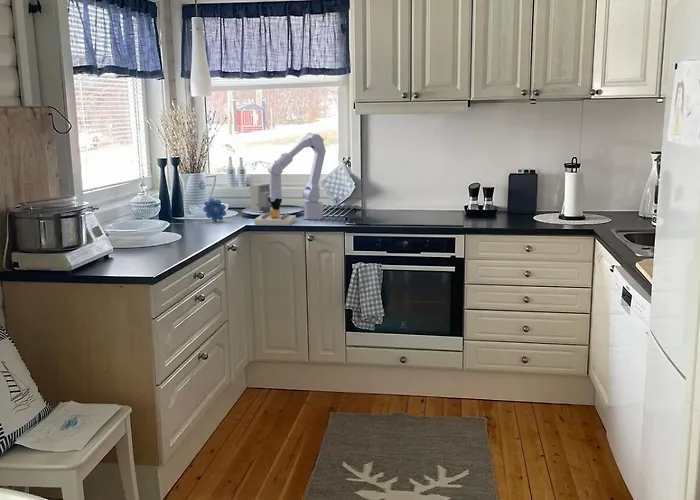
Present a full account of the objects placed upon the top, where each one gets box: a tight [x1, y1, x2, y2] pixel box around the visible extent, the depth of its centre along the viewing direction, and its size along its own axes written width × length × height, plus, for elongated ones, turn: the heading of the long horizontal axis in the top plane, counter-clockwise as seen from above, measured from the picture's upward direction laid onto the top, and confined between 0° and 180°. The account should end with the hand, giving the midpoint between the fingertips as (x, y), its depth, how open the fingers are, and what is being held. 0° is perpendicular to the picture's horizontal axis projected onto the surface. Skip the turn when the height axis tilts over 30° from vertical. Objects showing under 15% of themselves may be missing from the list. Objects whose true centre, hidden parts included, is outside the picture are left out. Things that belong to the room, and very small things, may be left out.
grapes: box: [202, 197, 227, 222], centre depth 367 cm, size 12×7×12 cm, turn 109°
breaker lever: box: [269, 208, 281, 217], centre depth 365 cm, size 4×3×4 cm
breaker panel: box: [254, 211, 297, 226], centre depth 366 cm, size 18×14×4 cm
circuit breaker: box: [248, 182, 272, 212], centre depth 394 cm, size 8×14×15 cm, turn 53°
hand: (276, 213), depth 367 cm, fingers closed
